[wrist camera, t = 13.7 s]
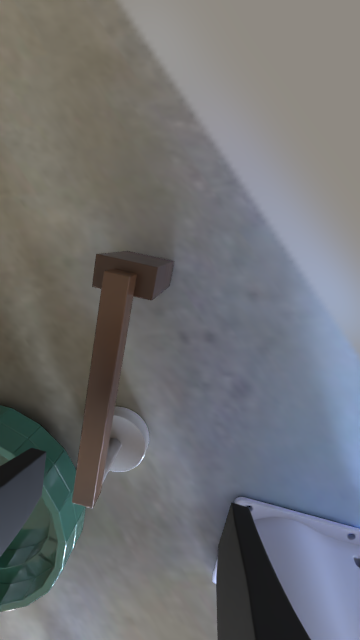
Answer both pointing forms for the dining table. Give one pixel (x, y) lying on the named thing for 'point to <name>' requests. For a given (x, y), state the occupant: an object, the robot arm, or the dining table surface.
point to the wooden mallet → (114, 371)
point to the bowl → (38, 516)
